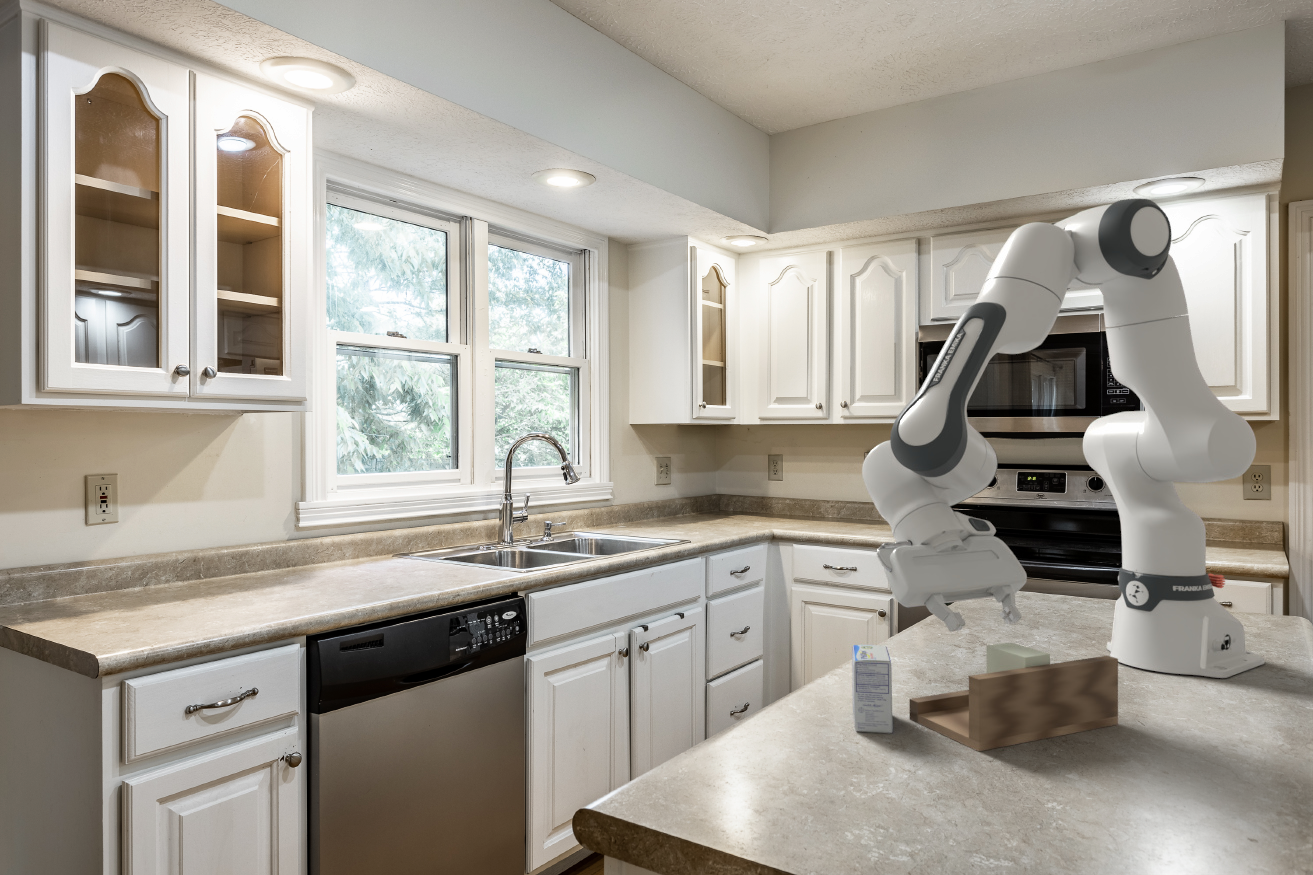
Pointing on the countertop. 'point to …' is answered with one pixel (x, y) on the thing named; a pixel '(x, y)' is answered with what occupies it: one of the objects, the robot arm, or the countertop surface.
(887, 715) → the medicine box
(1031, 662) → the sage cabinet block
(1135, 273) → the robot arm
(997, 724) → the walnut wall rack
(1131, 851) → the countertop surface
